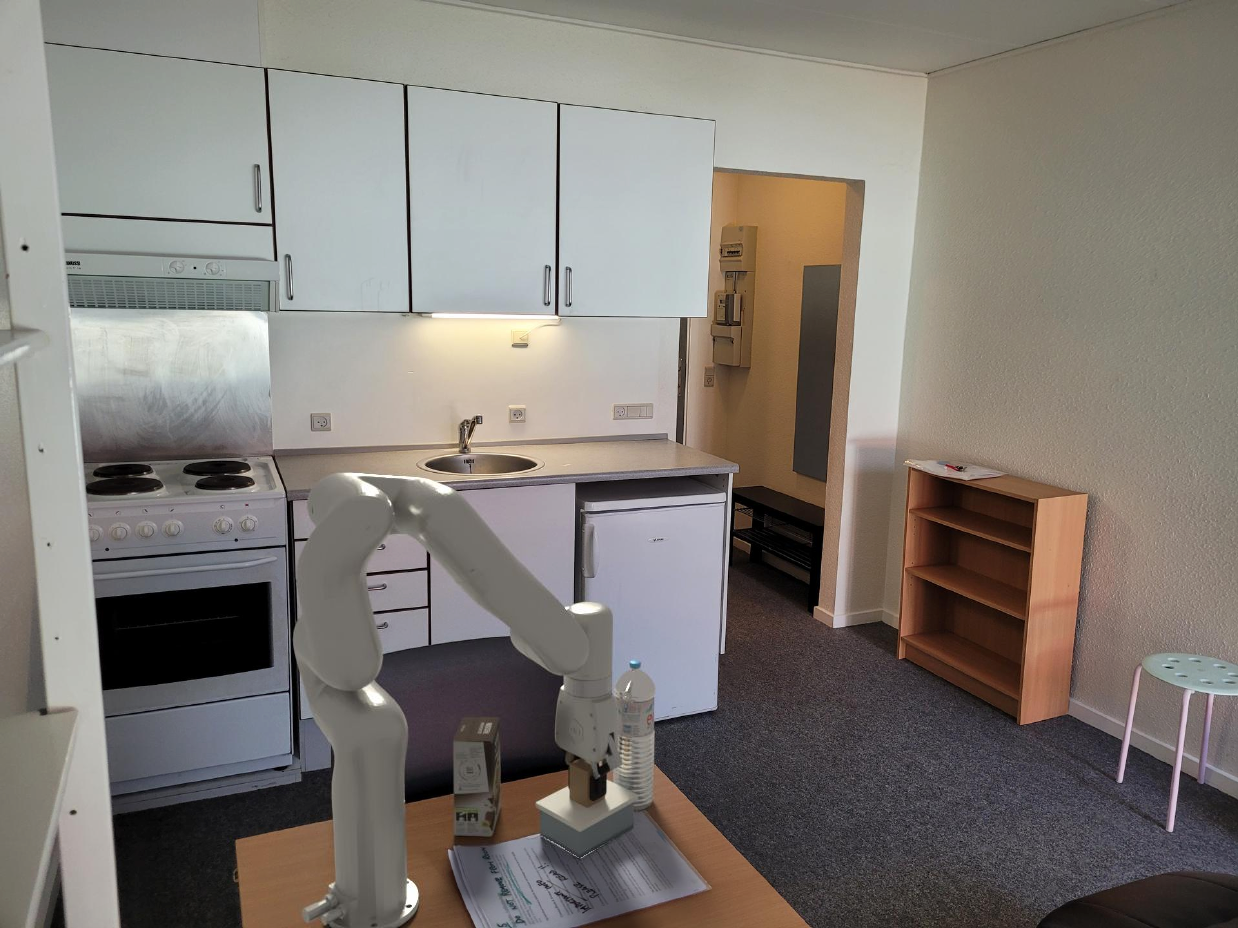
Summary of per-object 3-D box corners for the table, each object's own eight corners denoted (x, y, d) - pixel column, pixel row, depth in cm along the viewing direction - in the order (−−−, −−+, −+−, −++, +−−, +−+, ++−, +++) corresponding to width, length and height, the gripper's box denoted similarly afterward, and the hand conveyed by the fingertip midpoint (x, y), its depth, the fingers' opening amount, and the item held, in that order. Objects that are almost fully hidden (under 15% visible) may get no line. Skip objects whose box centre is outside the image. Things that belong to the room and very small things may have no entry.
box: (580, 859, 140) (580, 829, 139) (540, 836, 146) (540, 806, 145) (633, 828, 148) (633, 799, 147) (593, 807, 154) (593, 779, 154)
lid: (580, 831, 138) (580, 789, 137) (535, 806, 145) (535, 766, 144) (638, 799, 147) (638, 759, 146) (593, 777, 154) (594, 739, 153)
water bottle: (630, 787, 161) (632, 651, 157) (661, 800, 157) (664, 661, 153) (604, 802, 156) (605, 662, 152) (635, 817, 152) (637, 673, 147)
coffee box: (493, 837, 145) (492, 741, 143) (453, 836, 145) (451, 740, 143) (502, 806, 154) (501, 715, 152) (463, 805, 154) (462, 715, 152)
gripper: (533, 674, 146) (534, 781, 149) (610, 705, 134) (609, 821, 138) (568, 661, 151) (567, 765, 154) (644, 691, 140) (642, 802, 143)
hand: (587, 790), depth 146 cm, fingers closed on lid, 4 cm apart
